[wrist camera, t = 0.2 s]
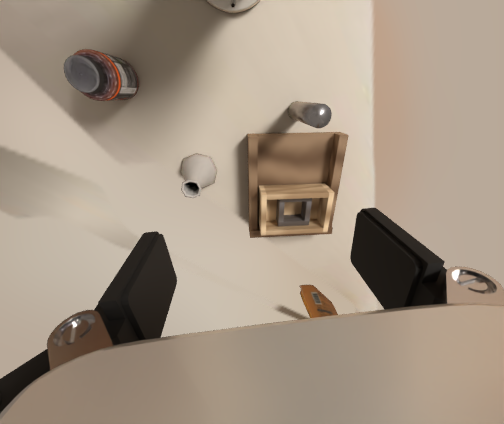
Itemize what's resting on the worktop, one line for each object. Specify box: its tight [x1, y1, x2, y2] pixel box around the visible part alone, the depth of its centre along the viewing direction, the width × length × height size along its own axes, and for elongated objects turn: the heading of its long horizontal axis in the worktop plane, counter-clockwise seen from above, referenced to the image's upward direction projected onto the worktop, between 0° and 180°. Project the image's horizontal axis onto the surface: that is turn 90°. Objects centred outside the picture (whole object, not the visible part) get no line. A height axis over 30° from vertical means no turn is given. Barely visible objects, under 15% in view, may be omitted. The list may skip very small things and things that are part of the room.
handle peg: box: [288, 101, 331, 128], centre depth 36 cm, size 3×3×13 cm
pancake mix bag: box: [300, 285, 338, 318], centre depth 53 cm, size 7×19×28 cm, turn 42°
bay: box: [248, 132, 348, 238], centre depth 46 cm, size 21×18×4 cm
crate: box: [259, 183, 335, 235], centre depth 46 cm, size 9×14×5 cm, turn 90°
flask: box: [181, 153, 217, 198], centre depth 41 cm, size 7×7×10 cm
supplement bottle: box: [64, 49, 139, 101], centre depth 32 cm, size 6×6×11 cm
